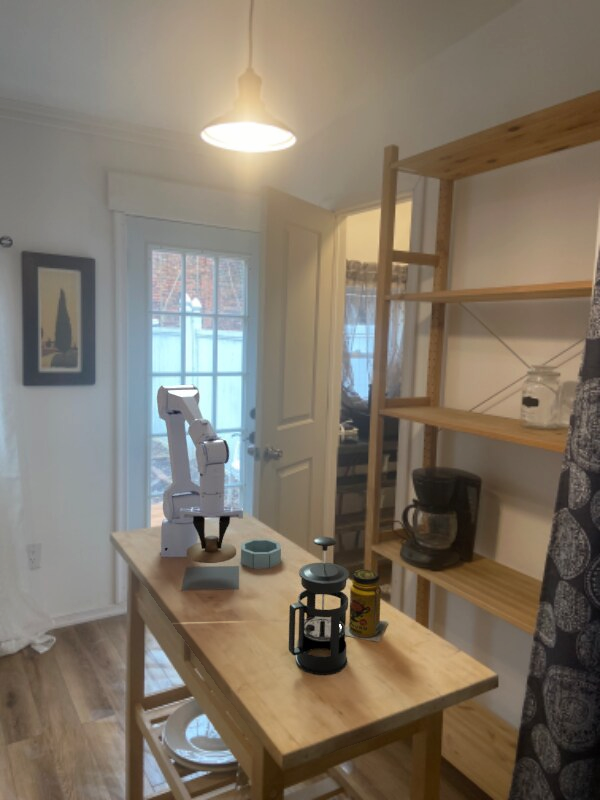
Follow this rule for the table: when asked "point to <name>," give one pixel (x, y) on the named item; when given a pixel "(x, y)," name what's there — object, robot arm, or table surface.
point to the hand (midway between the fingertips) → (211, 547)
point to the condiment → (365, 607)
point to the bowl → (260, 553)
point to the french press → (320, 616)
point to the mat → (211, 578)
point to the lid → (211, 551)
